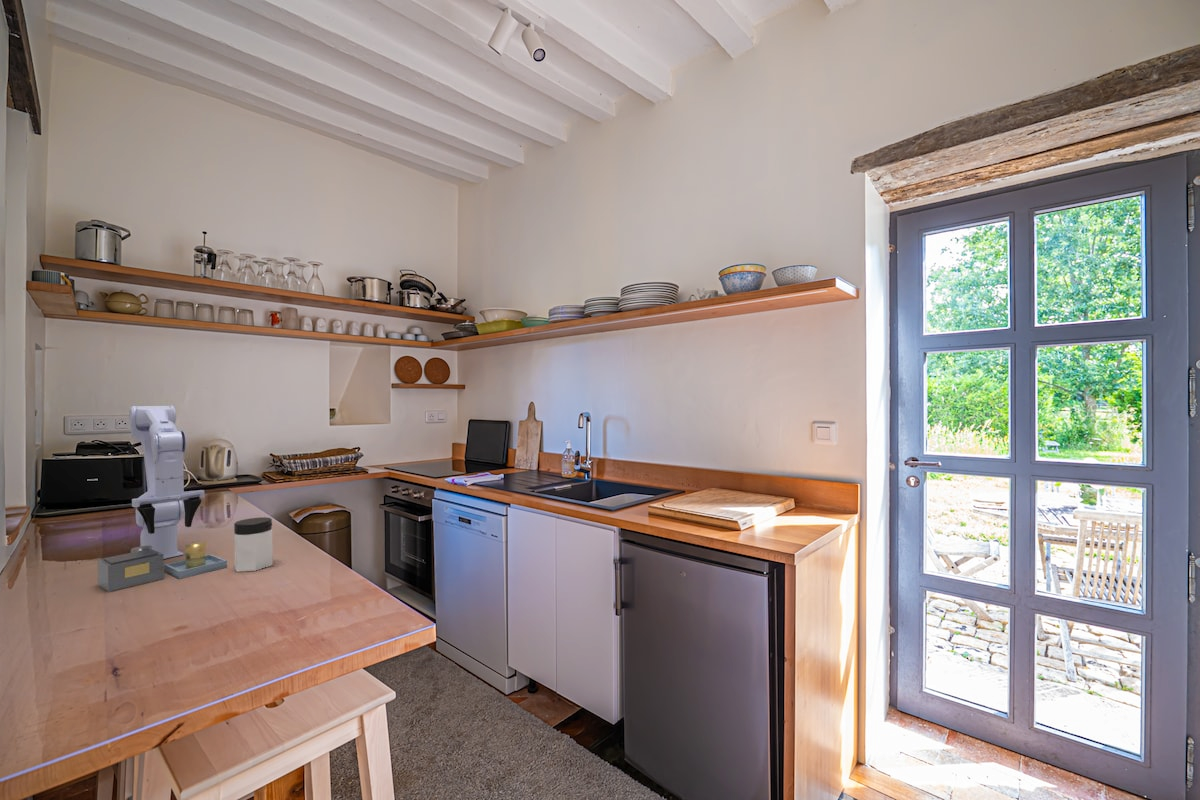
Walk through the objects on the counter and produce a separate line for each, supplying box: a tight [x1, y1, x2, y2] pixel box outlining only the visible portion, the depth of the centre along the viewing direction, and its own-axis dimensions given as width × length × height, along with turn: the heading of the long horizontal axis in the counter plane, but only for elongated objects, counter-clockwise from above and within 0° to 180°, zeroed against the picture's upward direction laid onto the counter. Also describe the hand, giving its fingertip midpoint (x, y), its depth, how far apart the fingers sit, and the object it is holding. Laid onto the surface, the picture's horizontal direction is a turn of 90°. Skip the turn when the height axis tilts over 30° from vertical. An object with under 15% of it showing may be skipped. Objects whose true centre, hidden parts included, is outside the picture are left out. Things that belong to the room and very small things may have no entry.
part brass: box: [185, 541, 207, 569], centre depth 131 cm, size 4×4×6 cm
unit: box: [97, 549, 165, 593], centre depth 122 cm, size 9×10×6 cm
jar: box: [233, 516, 274, 573], centre depth 133 cm, size 9×8×12 cm
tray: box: [164, 553, 228, 580], centre depth 131 cm, size 10×10×2 cm
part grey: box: [130, 546, 152, 553], centre depth 130 cm, size 4×4×6 cm
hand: (170, 529), depth 132 cm, fingers open, 7 cm apart
